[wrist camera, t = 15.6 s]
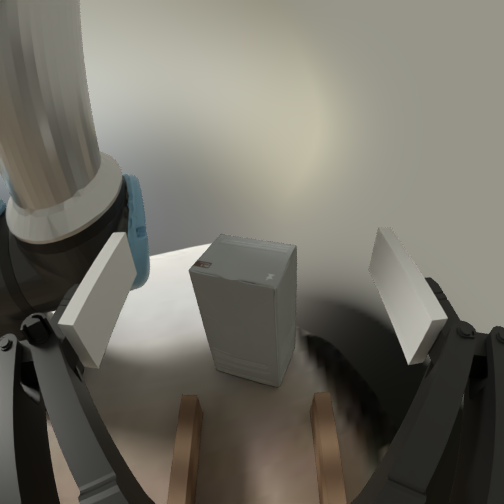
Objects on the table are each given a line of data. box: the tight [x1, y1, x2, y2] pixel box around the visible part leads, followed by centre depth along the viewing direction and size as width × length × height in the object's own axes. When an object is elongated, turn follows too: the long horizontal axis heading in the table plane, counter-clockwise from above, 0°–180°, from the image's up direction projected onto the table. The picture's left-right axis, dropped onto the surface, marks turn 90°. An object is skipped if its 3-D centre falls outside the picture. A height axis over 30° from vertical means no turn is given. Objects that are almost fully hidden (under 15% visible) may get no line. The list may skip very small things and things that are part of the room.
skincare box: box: [189, 234, 297, 387], centre depth 31 cm, size 8×7×16 cm
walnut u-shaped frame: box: [167, 392, 347, 504], centre depth 21 cm, size 18×14×4 cm
